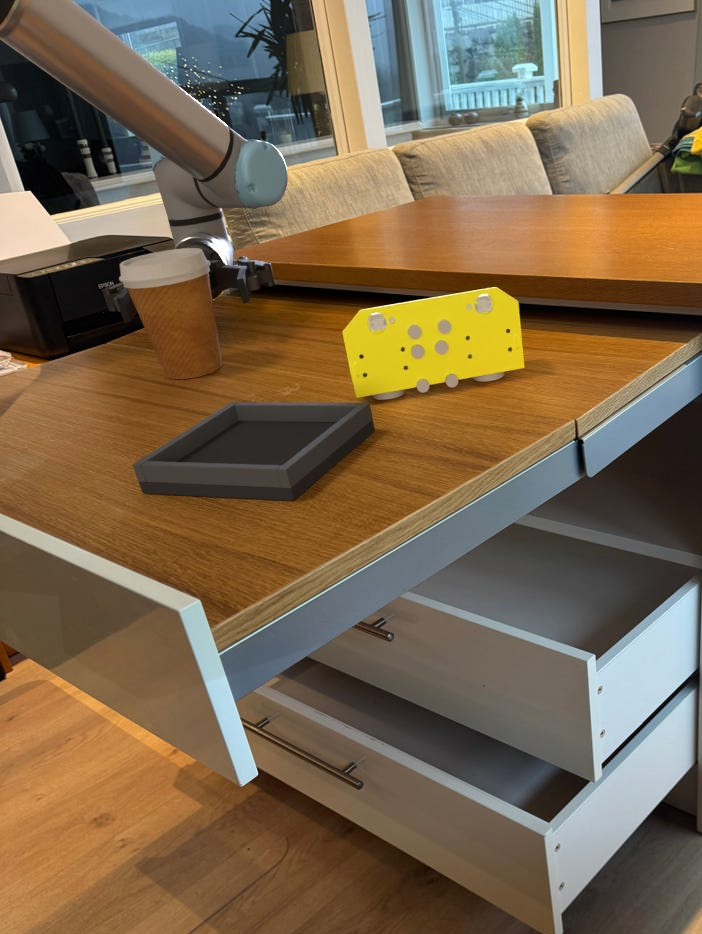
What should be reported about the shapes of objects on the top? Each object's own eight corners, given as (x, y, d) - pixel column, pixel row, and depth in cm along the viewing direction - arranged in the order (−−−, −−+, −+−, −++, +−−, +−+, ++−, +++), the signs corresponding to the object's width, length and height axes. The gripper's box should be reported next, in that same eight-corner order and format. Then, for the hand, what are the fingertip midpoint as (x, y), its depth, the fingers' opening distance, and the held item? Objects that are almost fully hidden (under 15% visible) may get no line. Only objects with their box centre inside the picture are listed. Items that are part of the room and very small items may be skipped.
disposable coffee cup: (239, 352, 105) (210, 242, 98) (234, 375, 97) (202, 257, 90) (157, 366, 104) (122, 256, 98) (146, 390, 96) (107, 272, 90)
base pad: (142, 493, 71) (131, 464, 70) (238, 428, 82) (231, 402, 80) (293, 501, 66) (285, 469, 65) (375, 430, 77) (369, 402, 76)
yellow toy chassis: (358, 408, 83) (339, 315, 78) (353, 390, 87) (336, 301, 83) (526, 377, 84) (517, 284, 79) (513, 362, 89) (504, 273, 84)
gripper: (298, 282, 123) (299, 316, 105) (115, 311, 121) (84, 351, 103) (285, 223, 119) (284, 248, 101) (95, 252, 117) (60, 283, 99)
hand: (183, 300), depth 102 cm, fingers open, 13 cm apart
